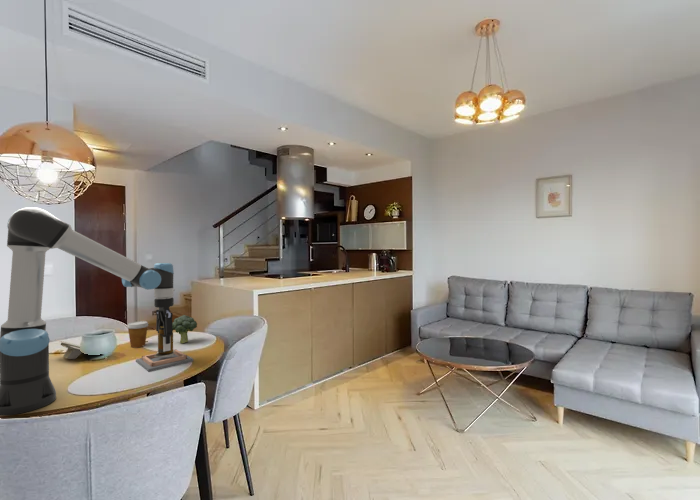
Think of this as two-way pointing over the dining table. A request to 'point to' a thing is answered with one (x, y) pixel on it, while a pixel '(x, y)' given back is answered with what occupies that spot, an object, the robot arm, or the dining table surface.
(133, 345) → the disposable coffee cup
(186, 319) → the vegetable
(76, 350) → the grey angled piece
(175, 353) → the holder
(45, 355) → the robot arm
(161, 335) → the condiment
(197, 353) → the dining table surface
